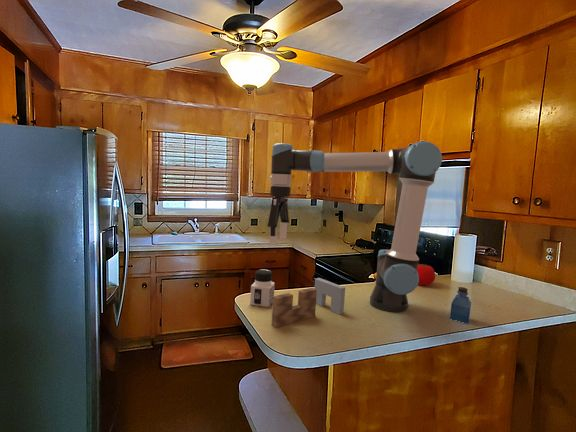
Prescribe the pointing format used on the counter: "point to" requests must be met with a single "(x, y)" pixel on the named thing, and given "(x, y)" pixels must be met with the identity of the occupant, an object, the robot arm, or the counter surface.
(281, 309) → the board
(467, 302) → the perfume bottle
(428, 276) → the tomato
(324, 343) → the counter surface
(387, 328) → the counter surface
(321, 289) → the arch block
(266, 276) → the container
